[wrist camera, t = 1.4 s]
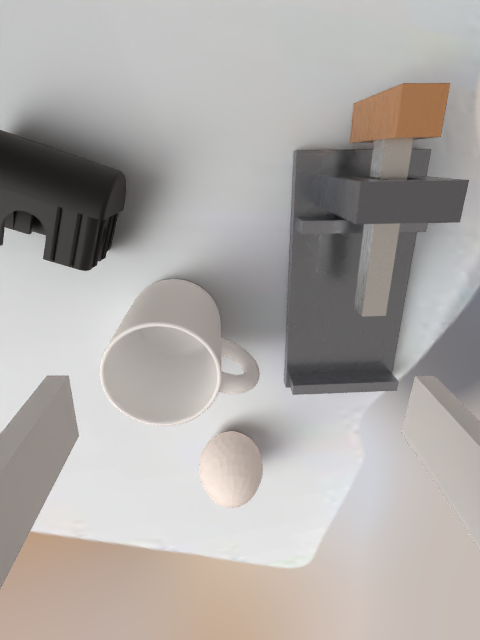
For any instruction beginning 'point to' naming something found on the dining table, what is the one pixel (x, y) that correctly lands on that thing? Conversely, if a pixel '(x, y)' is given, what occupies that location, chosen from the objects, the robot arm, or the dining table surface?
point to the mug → (171, 356)
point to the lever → (391, 172)
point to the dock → (351, 265)
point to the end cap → (59, 200)
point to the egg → (231, 469)
